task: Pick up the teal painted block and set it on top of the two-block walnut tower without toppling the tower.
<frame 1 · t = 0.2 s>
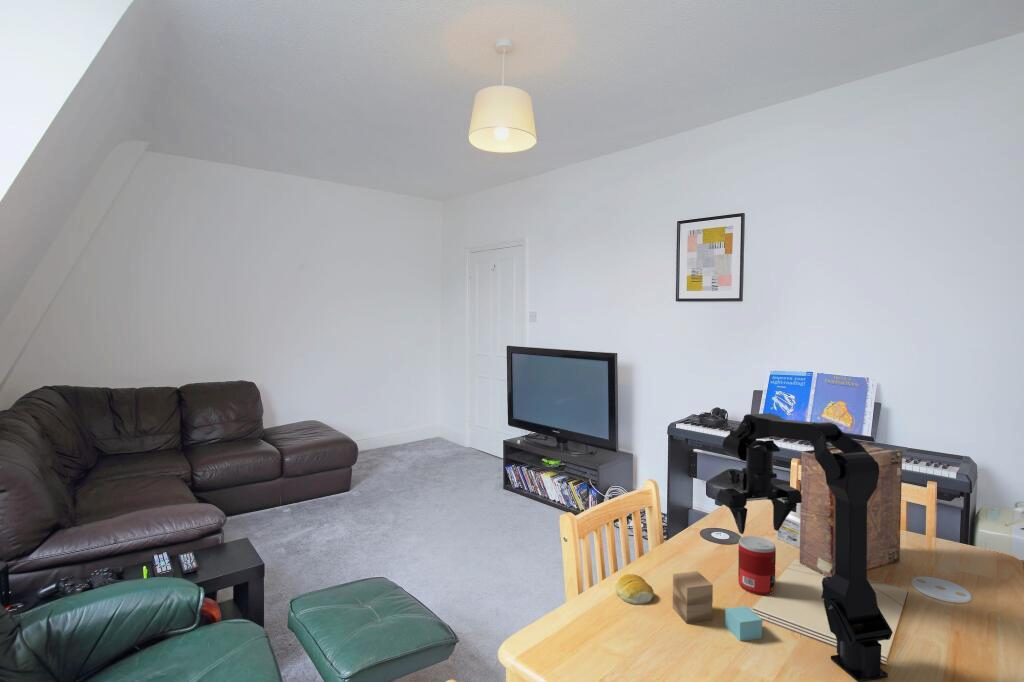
hand: (758, 531, 121), 14 cm above the table, fingers open, 9 cm apart
teal block: (743, 632, 106), on the table
book: (849, 563, 135), on the table
bread roll: (634, 595, 121), on the table
tower base: (692, 614, 113), on the table, touching tower top
canned food: (756, 588, 123), on the table
tower top: (692, 597, 112), point 4 cm above the table, touching tower base
container: (797, 541, 148), on the table
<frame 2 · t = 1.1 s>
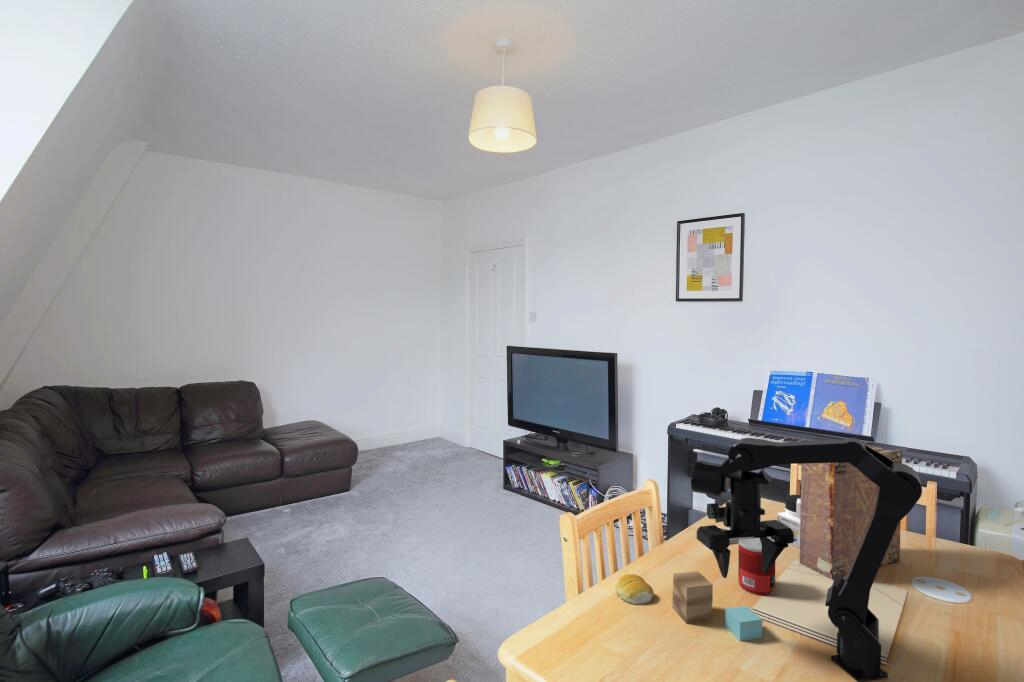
hand: (744, 575, 106), 12 cm above the table, fingers open, 9 cm apart
nothing on the table moved.
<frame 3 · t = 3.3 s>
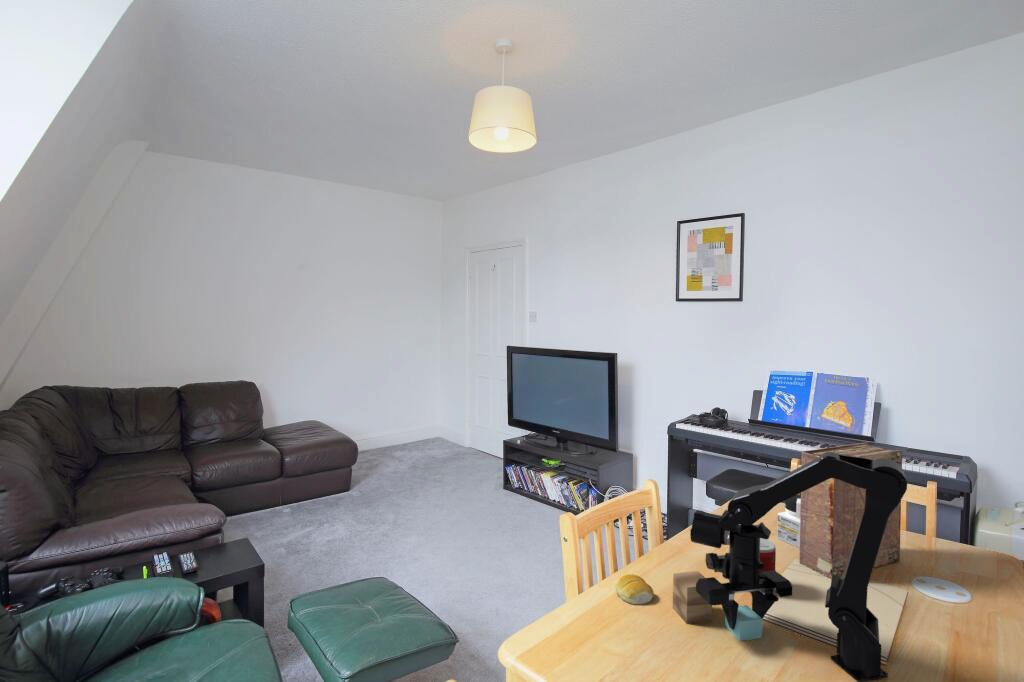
hand: (743, 627, 106), 1 cm above the table, fingers closed on teal block, 5 cm apart
teal block: (743, 631, 106), on the table, touching gripper
everything else where it was.
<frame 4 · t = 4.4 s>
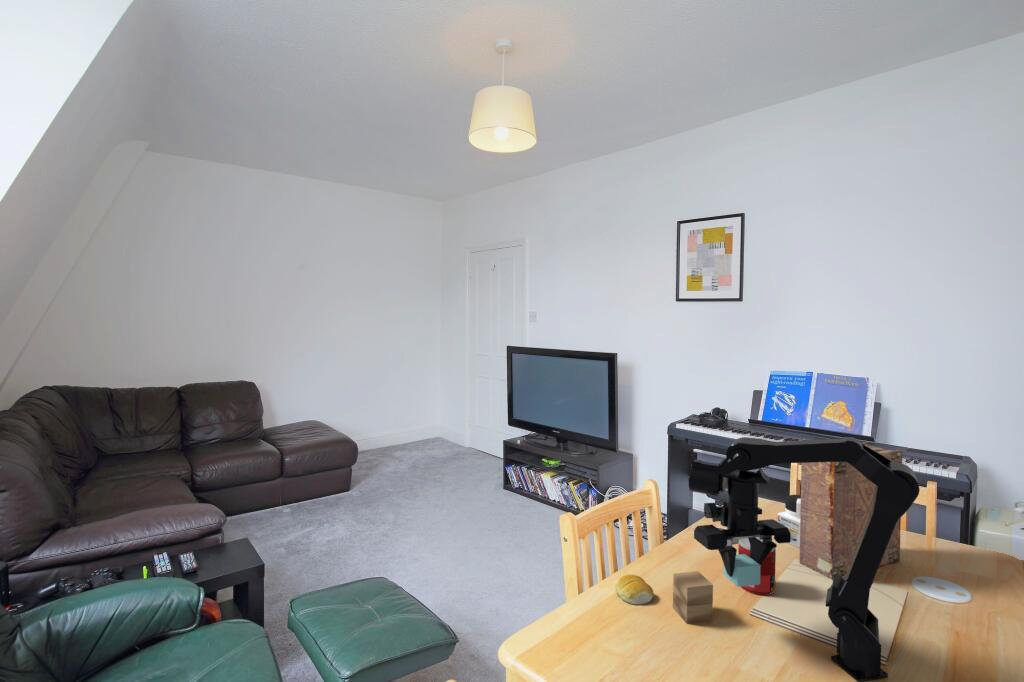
hand: (741, 574, 106), 12 cm above the table, fingers closed on teal block, 5 cm apart
teal block: (741, 579, 106), point 11 cm above the table, touching gripper
everything else where it was.
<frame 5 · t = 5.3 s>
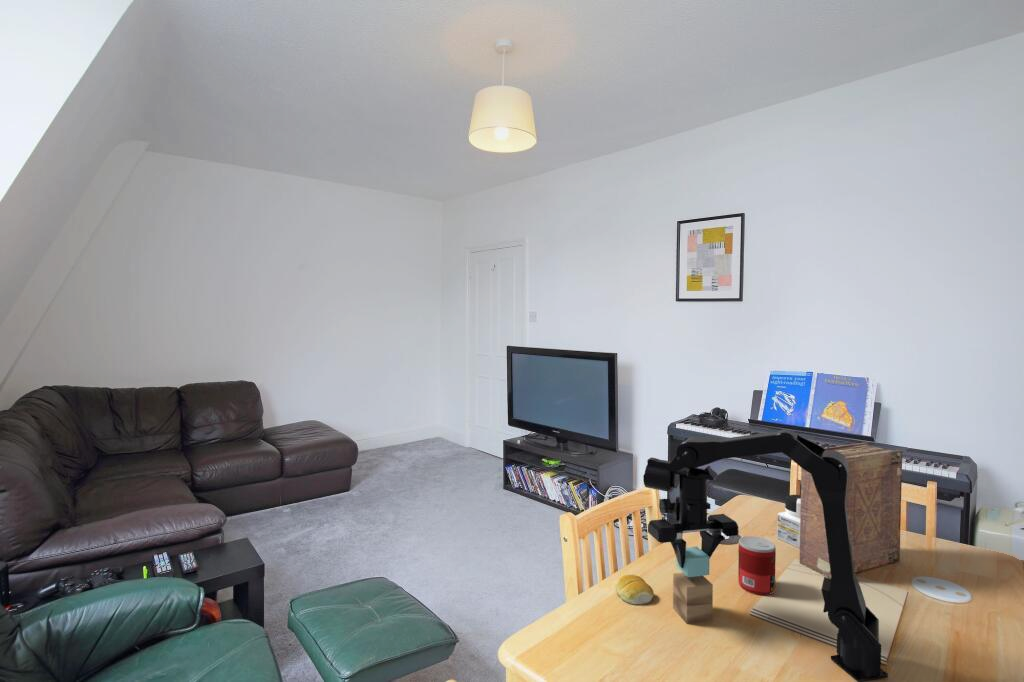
hand: (692, 565, 112), 11 cm above the table, fingers closed on teal block, 5 cm apart
teal block: (692, 570, 112), point 10 cm above the table, touching gripper
everything else where it was.
when the fingers open (10 cm above the table, at t = 6.2 s): teal block drops 1 cm, resting on tower top.
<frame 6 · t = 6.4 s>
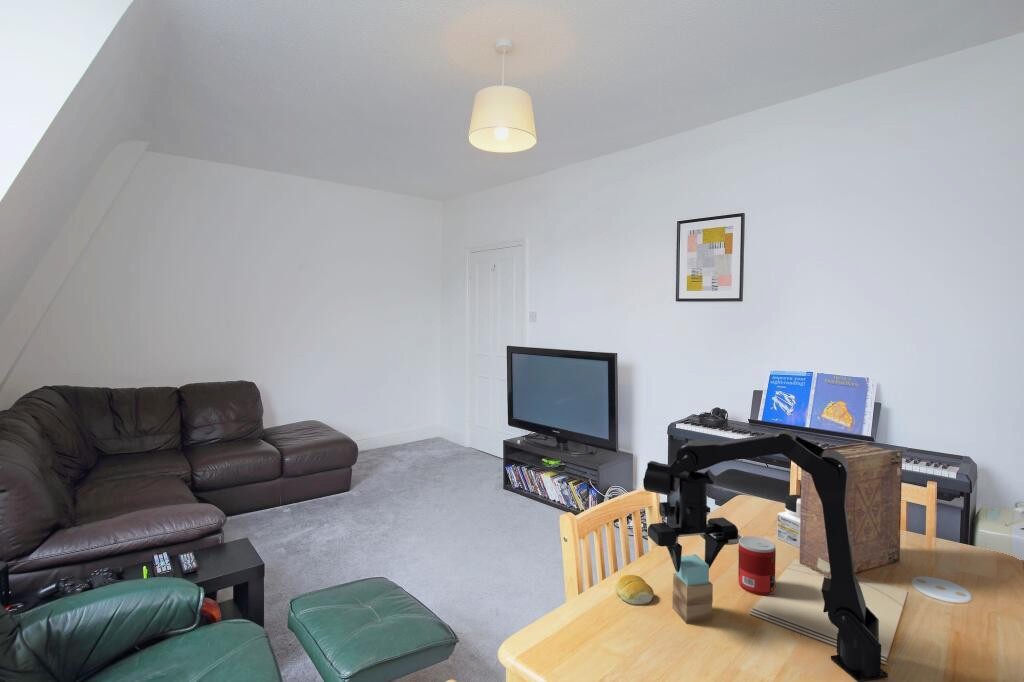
hand: (692, 569, 112), 10 cm above the table, fingers open, 7 cm apart
teal block: (691, 578, 112), point 8 cm above the table, touching tower top
tower top: (692, 596, 112), point 4 cm above the table, touching teal block, tower base
everything else where it was.
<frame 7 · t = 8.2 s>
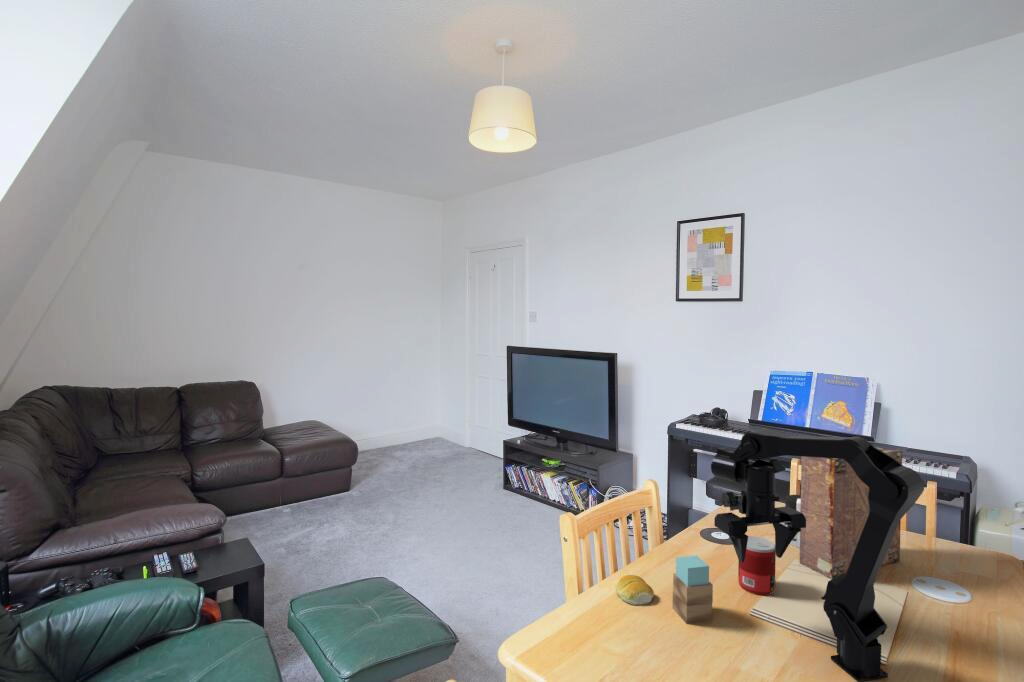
hand: (760, 559, 111), 13 cm above the table, fingers open, 9 cm apart
nothing on the table moved.
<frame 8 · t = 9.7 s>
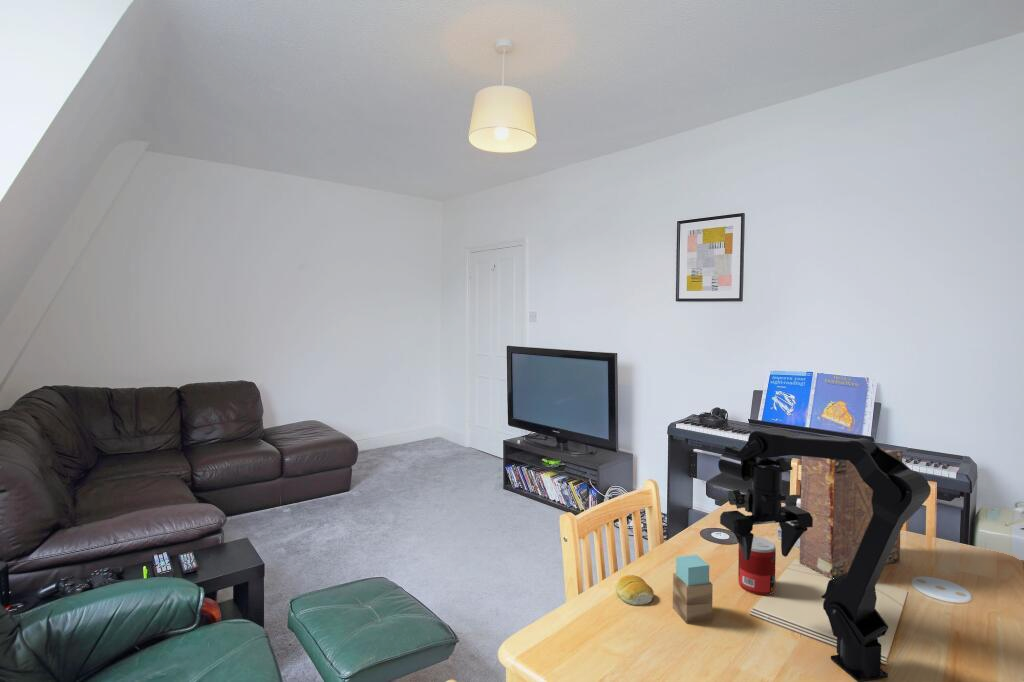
hand: (765, 557, 111), 13 cm above the table, fingers open, 9 cm apart
nothing on the table moved.
at the end: teal block 0.0 cm off-centre on the tower base, point 8.0 cm above the tower base's base; tower top tilted 0°; teal block tilted 0° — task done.
